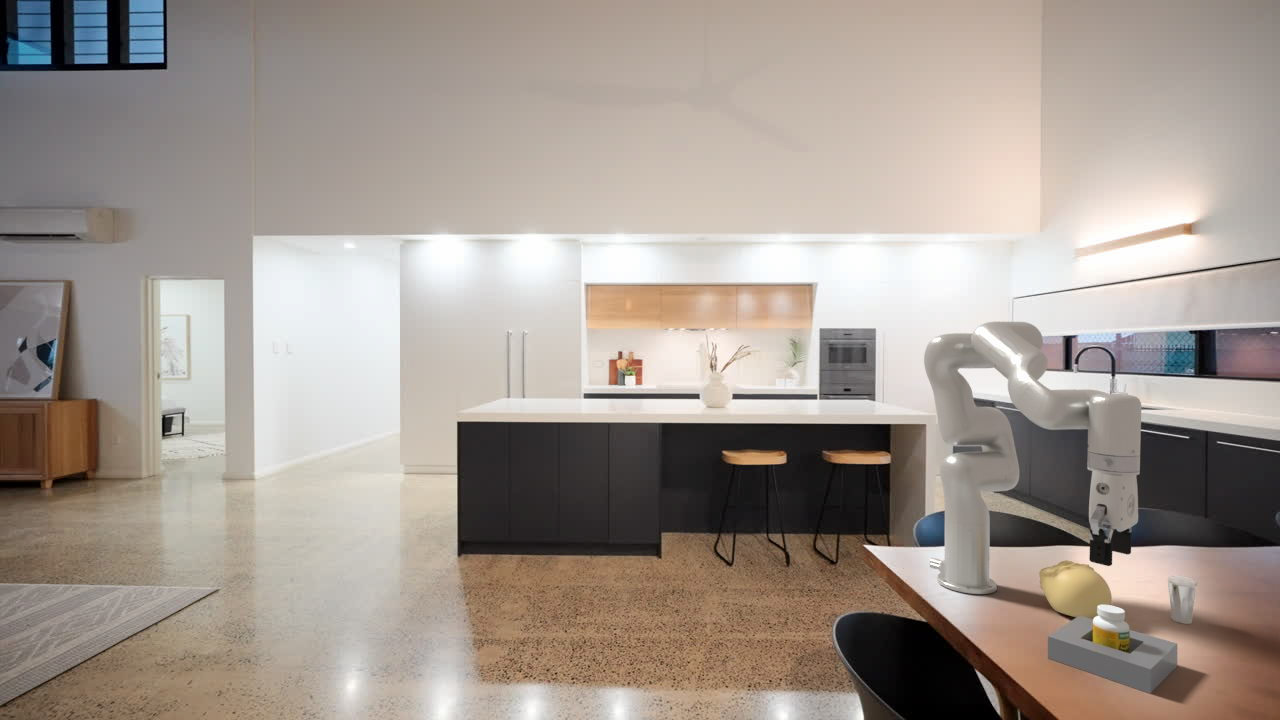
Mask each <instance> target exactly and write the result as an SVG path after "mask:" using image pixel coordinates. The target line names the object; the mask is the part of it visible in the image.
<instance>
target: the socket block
mask: <svg viewBox="0 0 1280 720" xmlns="http://www.w3.org/2000/svg"><path fill="white" fill-rule="evenodd" d="M1129 647H1130V654H1129V653H1126V652H1123V651H1120V650H1117V649H1113V648H1110V647H1107V646H1104V645H1101V644H1097V643H1094V642H1093V619H1091V618H1087V617H1084V616H1078V617H1074V618H1073V619H1072V620H1071V621H1069V622H1067V623H1066V624H1064V625H1063V626H1061V627H1060V628H1058V629H1057V630H1055V631H1054V632H1052V633H1051V634H1049V635H1048V636H1047V659H1050V660H1052V661H1055V662H1058V663H1060V664H1064V665H1066V666H1069V667H1073V668H1074V669H1078V670H1082V671H1083V672H1087V673H1090V674H1092V675H1095V676H1098V677H1101V678H1105V679H1106V680H1110V681H1112V682H1114V683H1115V682H1116V683H1118V684H1120V685H1124V686H1127V687H1131V688H1133V689H1136V690H1139V691H1141V692H1144V693H1147V694H1149V695H1150V694H1152V693H1153V691H1155V690H1156V688H1157V687H1158V686H1159V685H1160V684H1161V683H1163V682H1164V680H1165V679H1166V678H1167V677H1168V676H1170V674H1171V673H1172V672H1173V671H1174V670H1175V669H1176V668H1177V667H1178V642H1174V641H1170V640H1166V639H1163V638H1159V637H1156V636H1153V635H1149V634H1146V633H1142V632H1139V631H1136V630H1135V631H1134V630H1132V629H1130V646H1129Z"/></svg>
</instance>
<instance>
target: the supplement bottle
mask: <svg viewBox="0 0 1280 720" xmlns="http://www.w3.org/2000/svg"><path fill="white" fill-rule="evenodd" d="M1097 613H1098V615H1099V616H1096V617H1095V618H1094V619H1093V642H1094V643H1097V644H1101V645H1104V646H1107V647H1110V648H1113V649H1117V650H1120V651H1123V652H1126V653H1129V654H1130V647H1129V646H1130V630H1131V629H1130V625H1129V624H1128V623H1127V622H1126V621H1125V619H1126V611H1125V610H1124V609H1123V608H1121V607H1118V606H1115V605H1112V604H1111V605H1098V607H1097Z"/></svg>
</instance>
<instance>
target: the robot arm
mask: <svg viewBox="0 0 1280 720" xmlns="http://www.w3.org/2000/svg"><path fill="white" fill-rule="evenodd" d="M1042 335H1043V334H1042V332H1041V331H1040V330H1039V328H1038V327H1036V325H1033V324H1032V323H1029V322H1026V321H988V322H985V323H982V324H980V325H979V326H977V327H976V328H975V329H974V331H973V332H972V333H967V332H961V333H958V332H957V333H945V334H941V335H940V334H939V335H938V336H935V337H934V338H932V339H931V340H930V341H929V342H928V344H927V345H926V347H925V351H924V355H923V363H924V369H925V373H926V376H927V378H928V381H929V383H930V387H931V389H932V394H933V398H934V404H935V405H934V406H935V410H936V415H937V422H938V427H939V432H940V436H941V438H942V440H943V442H944V443H946V444H947V445H948V446H951V447H981V450H982V451H962V452H961V451H960V452H955V453H950V454H949V455H947V456H946V457H944V458H943V459H942V461H941V464H940V466H939V473H940V480H941V483H942V484H941V485H942V490H943V499H944V559H943V560H941V559H939V558H935V557H931V558H930V559H929V568H930V569H934V570H938V571H939V574H937V576H936V578H937V583H939V584H940V585H941V586H942V587H945V589H946V588H947V589H949V590H951V591H956V592H959V593H965V594H970V595H988V594H992V593H995V592H996V591H997V588H998V587H997V584H998V583H997V582H996V581H994V580H993V579H991V578H990V553H991V552H990V546H991V545H990V542H991V540H990V538H991V537H990V530H991V529H990V525H991V523H990V521H991V519H990V518H991V517H990V510H989V508H988V506H987V503H986V502H985V500H984V499H983V497H982V495H981V494H983V493H992V492H1006V491H1009V490H1013V489H1014V488H1015V487H1016V486H1017V484H1018V483H1019V480H1020V465H1019V461H1018V460H1019V459H1018V455H1017V451H1016V445H1015V440H1014V435H1013V431H1012V430H1013V429H1012V426H1011V423H1010V420H1009V419H1008V417H1007V416H1006V415H1005V413H1004V412H1003V411H1002V410H1000V409H999V408H996V407H992V406H977V405H976V404H975V400H974V396H973V395H974V394H973V390H972V388H971V387H972V386H971V385H970V383H969V382H968V380H967V379H966V378H965V377H964V376H963V374H961V373H960V372H959V369H995V370H996V371H998V373H1000V374H1001V375H1002V376H1003V377H1004V378H1005V379H1007V390H1008V391H1007V392H1008V395H1009V398H1010V401H1011V402H1012V404H1013V405H1014V407H1015V408H1016V409H1017V410H1018V412H1020V413H1021V414H1022V415H1023V416H1025V417H1026V418H1027V419H1028V420H1029V421H1031V423H1034V424H1035V425H1036V426H1037V427H1038V426H1039V427H1040V428H1043V429H1044V430H1045V429H1046V430H1049V431H1050V430H1051V431H1056V430H1057V431H1059V430H1060V431H1061V430H1087V463H1086V464H1087V466H1086V469H1087V470H1088V471H1091V479H1090V486H1089V487H1090V488H1089V490H1090V491H1089V500H1088V501H1089V504H1088V521H1089V525H1090V528H1089V556H1088V557H1089V558H1088V559H1089V562H1091V563H1094V564H1098V565H1101V566H1102V565H1103V566H1106V567H1111V566H1112V565H1113V553H1114V552H1115V553H1119V554H1124V555H1130V554H1132V535H1133V534H1132V531H1133V530H1132V528H1133V526H1135V525H1137V524H1138V522H1139V496H1138V495H1139V493H1138V491H1139V490H1138V480H1137V476H1138V475H1140V473H1141V472H1140V471H1141V469H1140V468H1141V440H1142V439H1141V438H1142V437H1141V435H1142V434H1141V431H1142V402H1141V400H1140V398H1138V397H1137V396H1135V395H1132V394H1124V393H1123V394H1122V393H1107V392H1105V391H1100V390H1097V389H1096V390H1095V389H1050V388H1048V387H1047V386H1045V385H1044V384H1043V383H1041V381H1039V380H1040V379H1041V378H1042V377H1043V376H1044V374H1045V373H1046V371H1047V368H1048V365H1049V362H1048V357H1047V355H1046V354H1045V353H1044V352H1043V351H1042V348H1043V344H1044V339H1043V336H1042ZM1105 531H1106V533H1105Z"/></svg>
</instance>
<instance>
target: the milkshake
mask: <svg viewBox="0 0 1280 720" xmlns="http://www.w3.org/2000/svg"><path fill="white" fill-rule="evenodd" d="M1201 578H1202V576H1201V577H1199V578H1198V580H1197V581H1196V580H1193V579H1192V578H1190V577H1187V576H1183V575H1177V574H1174V575H1170V576H1168V578H1167V585H1168V592H1169V601H1170V603H1169V604H1170V617H1171V620H1173V621H1174V622H1177V623H1180V624H1185V625H1189V624H1193V616H1194V615H1193V614H1194V605H1195V598H1196V593H1197V585H1198V583H1199V582H1200V580H1201Z"/></svg>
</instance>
